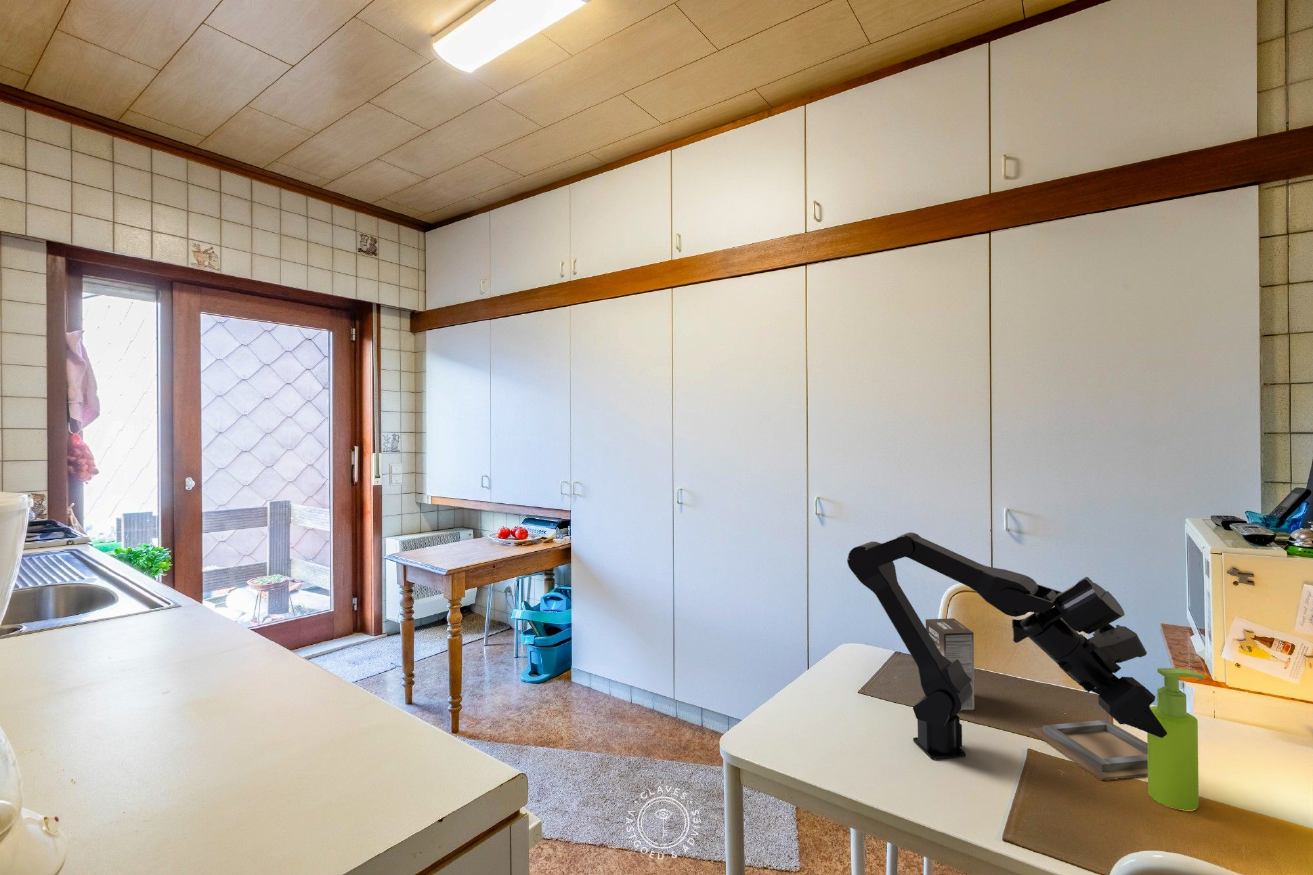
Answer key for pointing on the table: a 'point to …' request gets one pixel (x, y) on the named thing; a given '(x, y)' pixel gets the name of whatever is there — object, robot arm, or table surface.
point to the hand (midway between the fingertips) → (1146, 720)
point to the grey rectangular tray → (1098, 748)
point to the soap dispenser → (1174, 746)
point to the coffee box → (954, 646)
